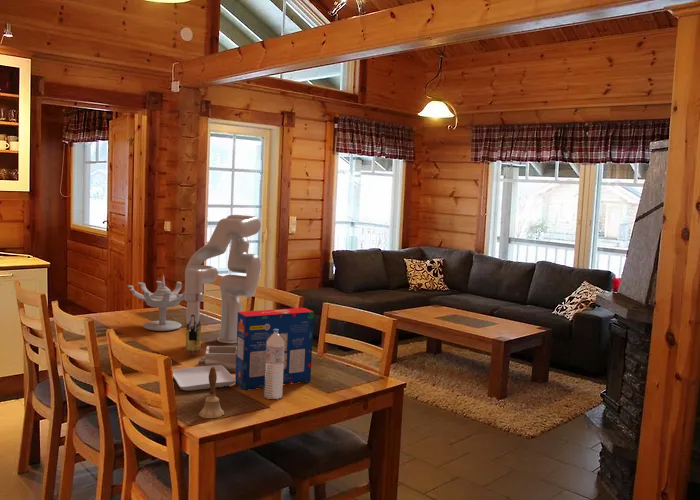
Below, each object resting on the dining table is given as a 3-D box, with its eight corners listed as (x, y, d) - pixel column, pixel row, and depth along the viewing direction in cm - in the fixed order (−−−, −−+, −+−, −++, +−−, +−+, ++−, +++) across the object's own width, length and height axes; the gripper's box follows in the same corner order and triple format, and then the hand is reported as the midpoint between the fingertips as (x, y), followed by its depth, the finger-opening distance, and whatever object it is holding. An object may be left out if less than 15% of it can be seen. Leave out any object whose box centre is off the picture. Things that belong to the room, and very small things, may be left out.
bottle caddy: (200, 360, 270) (201, 344, 269) (243, 360, 273) (244, 344, 273) (198, 373, 252) (198, 356, 252) (244, 373, 256) (244, 356, 255)
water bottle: (264, 393, 233) (266, 326, 230) (282, 394, 234) (285, 327, 231) (263, 400, 226) (265, 331, 224) (282, 400, 227) (285, 332, 224)
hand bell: (222, 419, 207) (224, 371, 205) (197, 418, 206) (198, 370, 204) (225, 410, 215) (227, 364, 213) (201, 409, 214) (202, 363, 213)
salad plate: (179, 395, 228) (180, 386, 228) (167, 377, 247) (167, 368, 246) (237, 389, 238) (237, 380, 237) (221, 372, 256) (221, 364, 256)
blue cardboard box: (301, 375, 257) (304, 307, 253) (310, 381, 250) (313, 311, 247) (235, 384, 242) (237, 311, 239) (243, 390, 235) (245, 316, 232)
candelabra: (211, 329, 324) (213, 276, 321) (149, 339, 298) (150, 282, 295) (173, 317, 346) (174, 267, 343) (112, 325, 320) (113, 272, 317)
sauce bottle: (196, 355, 271) (197, 310, 268) (183, 354, 272) (183, 308, 269) (203, 351, 278) (203, 306, 275) (189, 349, 279) (190, 305, 276)
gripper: (186, 292, 279) (186, 332, 282) (183, 301, 263) (182, 343, 265) (204, 292, 281) (203, 332, 283) (201, 301, 264) (201, 343, 266)
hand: (193, 337), depth 274 cm, fingers closed on sauce bottle, 6 cm apart
